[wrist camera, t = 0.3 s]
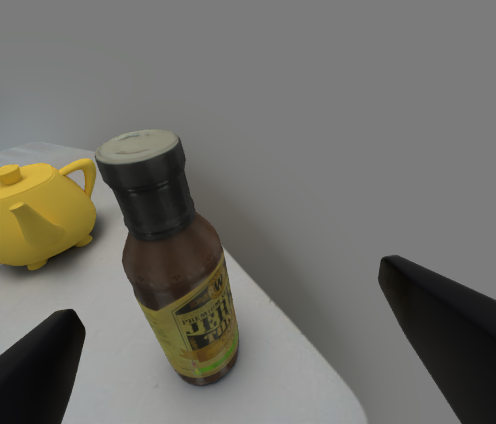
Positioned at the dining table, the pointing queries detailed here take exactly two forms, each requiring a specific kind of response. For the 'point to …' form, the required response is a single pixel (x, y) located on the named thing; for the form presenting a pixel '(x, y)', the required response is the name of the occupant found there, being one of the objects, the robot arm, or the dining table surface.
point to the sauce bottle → (172, 254)
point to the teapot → (44, 212)
